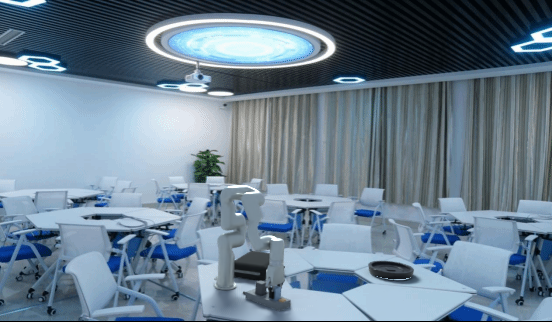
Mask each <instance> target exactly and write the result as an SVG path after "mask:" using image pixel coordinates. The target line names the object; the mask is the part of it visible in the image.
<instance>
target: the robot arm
mask: <svg viewBox="0 0 552 322" xmlns="http://www.w3.org/2000/svg"><path fill="white" fill-rule="evenodd" d="M219 198H220V199H219V200H220V206H221V207H220V228H221V229H222V230H223V231H227V232H224V233H221V234H220V235H218V237H217V239H216V241H217V243H216V244H217V250H218V259H217V260H218V262H217V263H218V265H217V275H216V277H214V281H216V282H215V283H214V288H215V289H217V290H222V291H230V290H233V289H236V287H237V283H236V282H235V277H234V265H235V260H236V256H235V253H234V251H233V249H236V248H240V247H242V246H243V245H244V244H245V242H246V231H247V238H248V240H249V243H250V245H251V248H252V249H253V251H256V252H265V251H269V253H270V256H269V265H268V269H267V275H266V280H265V282H266V287H267V291H268V290H269V298H271V299H274V287H275V285H277V286H279V287H281V290H282V289H283V285H284V283H285V281H286V279H285V268H284V266H285V264H284V262H285V261H284V259H285V240H284V239H283V238H279V237H276V236H273V235H271V234H268V235H263V236H260V234H259V231H258V225H259V223H260V222H261V221H262V220H263V219H264V217H265V215H264V212H263V211H262V208H261V207H262V206H264V204H265V201H266V200H265V199H266V198H265V196H264V193H262V192H261V191H259V190H257V189H256V188H253V187H251V186H249V185H230V186H226V187H224V188H223V189H222V190H221V192H220V196H219ZM234 201H241V204H242V208H243V209H244V212H245V213H246V215H245V216H246V217H247V219H248V226H247V225H246V224H247V220H246V217H245V216H244V215H243V214H242V213H240V212H236V211H237V208H236V204H235V202H234ZM246 228H247V230H246ZM228 231H229V232H228ZM271 286H272V288H271Z"/></svg>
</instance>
